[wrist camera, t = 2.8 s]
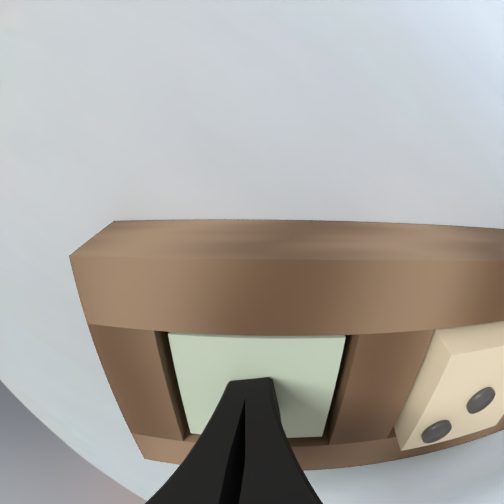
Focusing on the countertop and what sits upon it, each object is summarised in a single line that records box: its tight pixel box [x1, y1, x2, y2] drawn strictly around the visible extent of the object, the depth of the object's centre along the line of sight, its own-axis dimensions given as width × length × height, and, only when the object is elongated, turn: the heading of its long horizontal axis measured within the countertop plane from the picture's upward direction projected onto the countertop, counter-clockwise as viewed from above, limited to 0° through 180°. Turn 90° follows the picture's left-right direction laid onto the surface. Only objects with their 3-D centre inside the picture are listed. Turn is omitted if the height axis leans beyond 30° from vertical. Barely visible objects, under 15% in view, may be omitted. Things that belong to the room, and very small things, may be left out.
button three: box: [393, 321, 504, 451], centre depth 9 cm, size 5×5×3 cm
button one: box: [168, 332, 346, 438], centre depth 11 cm, size 5×5×3 cm
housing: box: [69, 220, 504, 470], centre depth 10 cm, size 26×10×3 cm, turn 90°
